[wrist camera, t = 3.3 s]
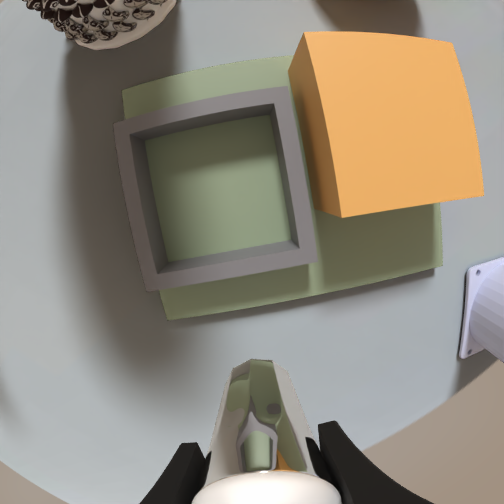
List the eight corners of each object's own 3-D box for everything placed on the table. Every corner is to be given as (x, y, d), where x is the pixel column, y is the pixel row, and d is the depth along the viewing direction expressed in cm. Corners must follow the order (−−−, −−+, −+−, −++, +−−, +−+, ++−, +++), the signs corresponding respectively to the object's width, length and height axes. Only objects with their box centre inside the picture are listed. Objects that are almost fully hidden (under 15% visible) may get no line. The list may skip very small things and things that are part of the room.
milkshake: (273, 436, 15) (290, 592, 5) (195, 387, 15) (152, 560, 5) (332, 385, 15) (400, 545, 5) (253, 327, 14) (264, 517, 4)
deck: (404, 60, 16) (452, 28, 10) (434, 262, 19) (489, 288, 13) (127, 94, 16) (83, 62, 10) (170, 314, 19) (144, 364, 13)
